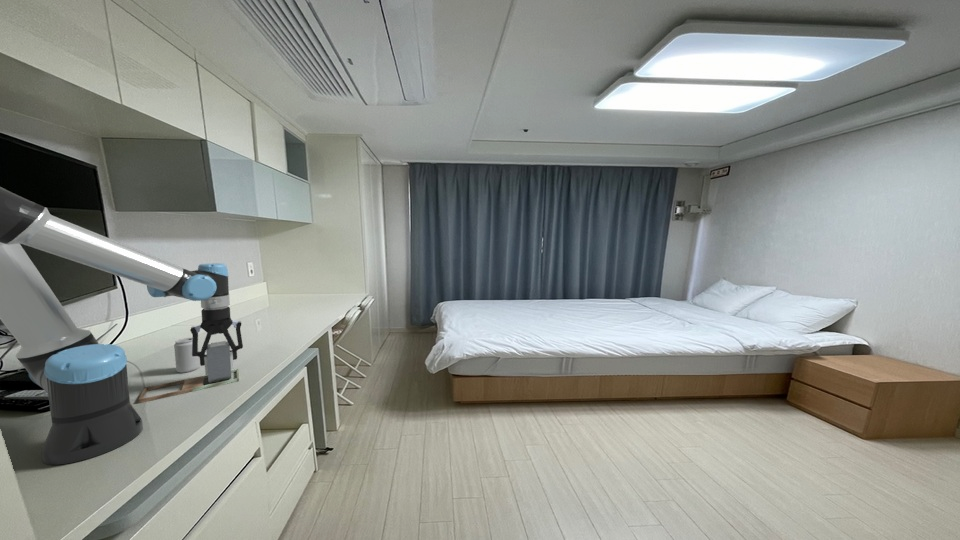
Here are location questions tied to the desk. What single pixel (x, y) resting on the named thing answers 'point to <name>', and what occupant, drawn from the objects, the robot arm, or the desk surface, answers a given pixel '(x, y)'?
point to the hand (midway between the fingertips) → (219, 370)
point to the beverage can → (185, 356)
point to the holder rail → (184, 386)
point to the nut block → (218, 361)
